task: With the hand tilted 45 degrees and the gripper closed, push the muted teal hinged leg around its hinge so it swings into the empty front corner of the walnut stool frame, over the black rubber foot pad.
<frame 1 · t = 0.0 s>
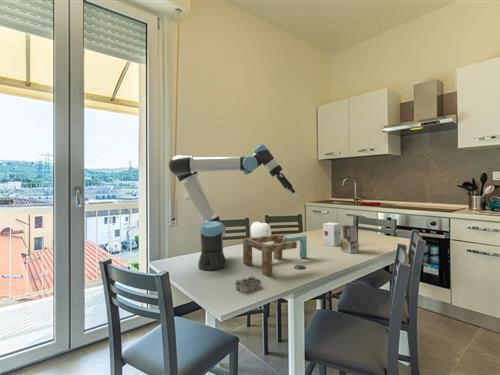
hand: (295, 196, 162), 36 cm above the table, tool tilted 35°, fingers open, 13 cm apart
supplement box: (332, 244, 194), on the table
coffee box: (349, 251, 174), on the table
stool frame: (285, 261, 155), on the table
grey knobbly lump: (248, 288, 117), on the table
decorative heart: (261, 247, 191), on the table
folding leg: (294, 247, 158), point 7 cm above the table, hinge at 0.0°
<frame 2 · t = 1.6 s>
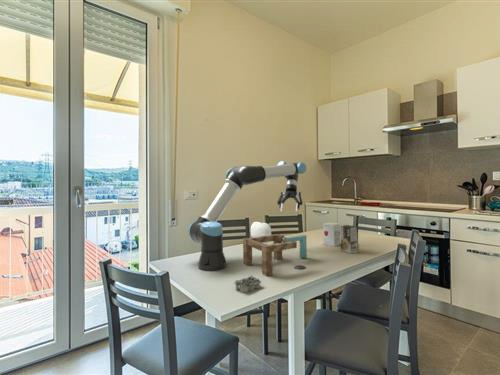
hand: (288, 212, 180), 25 cm above the table, tool tilted 45°, fingers open, 9 cm apart
nothing on the table moved.
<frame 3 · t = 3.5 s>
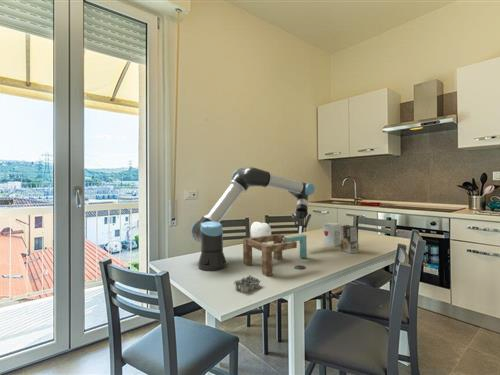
hand: (300, 235, 174), 10 cm above the table, tool tilted 45°, fingers closed
nothing on the table moved.
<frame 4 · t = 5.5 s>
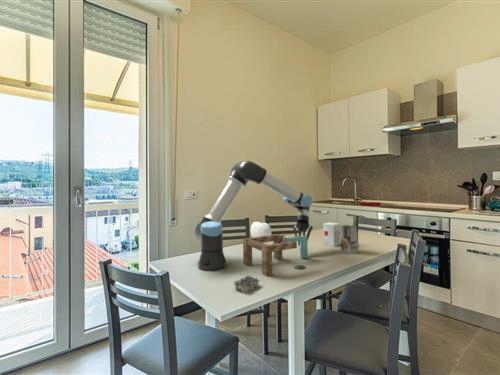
hand: (301, 250, 163), 4 cm above the table, tool tilted 45°, fingers closed
folding leg: (295, 247, 158), point 7 cm above the table, hinge at 3.9°, touching gripper
everything else where it was.
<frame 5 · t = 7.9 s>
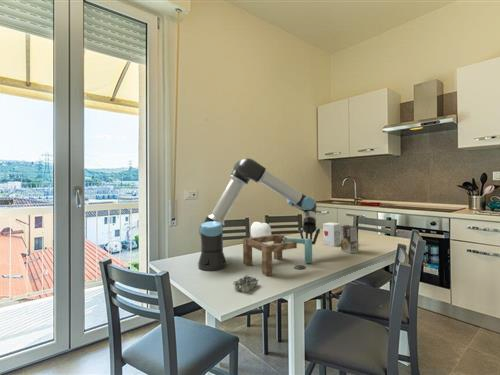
hand: (308, 254, 154), 4 cm above the table, tool tilted 45°, fingers closed
folding leg: (297, 249, 152), point 7 cm above the table, hinge at 47.5°, touching gripper
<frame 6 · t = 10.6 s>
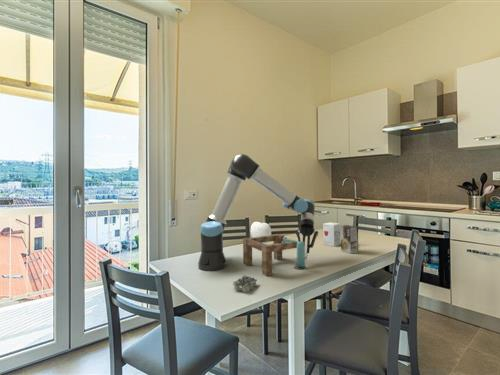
hand: (305, 258, 146), 4 cm above the table, tool tilted 45°, fingers closed
folding leg: (293, 251, 149), point 7 cm above the table, hinge at 86.6°
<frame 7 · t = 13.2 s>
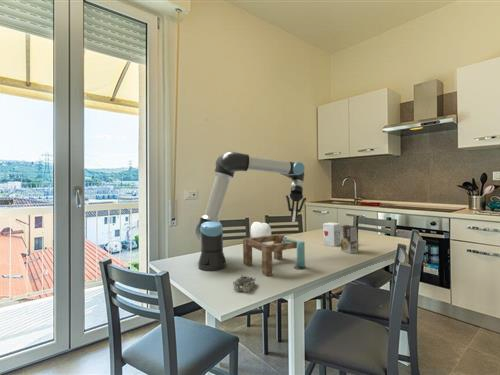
hand: (293, 221, 165), 21 cm above the table, tool tilted 35°, fingers closed
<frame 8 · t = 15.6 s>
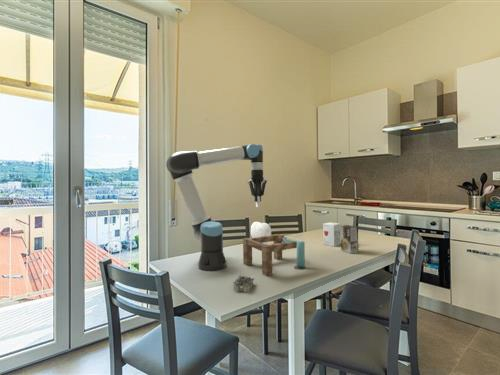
hand: (257, 206, 174), 29 cm above the table, tool pointing down, fingers closed
at the end: folding leg at +87° (first picture: +0°) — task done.
